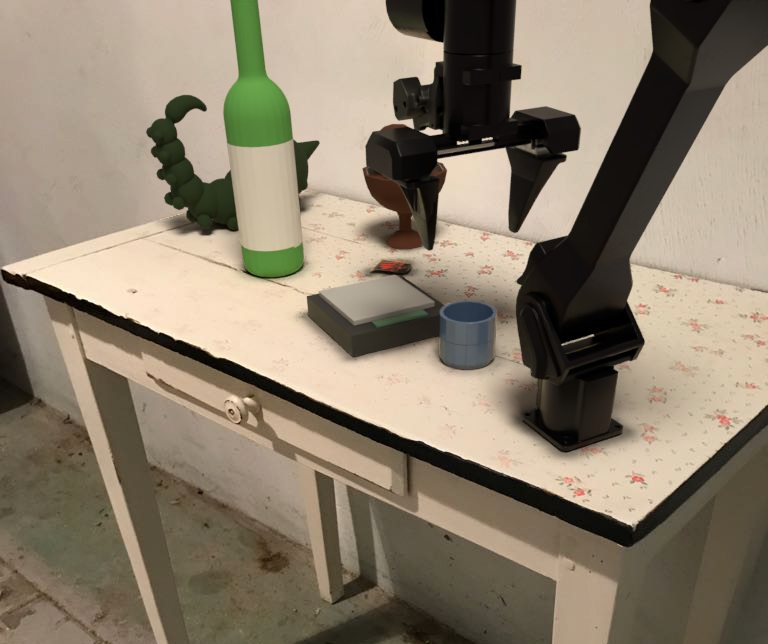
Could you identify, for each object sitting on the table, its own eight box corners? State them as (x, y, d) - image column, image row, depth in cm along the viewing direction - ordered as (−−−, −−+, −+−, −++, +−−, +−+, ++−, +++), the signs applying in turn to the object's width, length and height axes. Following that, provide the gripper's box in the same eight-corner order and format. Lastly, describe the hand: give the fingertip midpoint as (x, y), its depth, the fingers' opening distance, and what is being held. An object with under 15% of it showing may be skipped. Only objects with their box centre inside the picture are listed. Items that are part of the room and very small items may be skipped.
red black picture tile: (410, 274, 102) (410, 270, 101) (369, 274, 102) (369, 270, 102) (412, 261, 105) (412, 257, 105) (372, 261, 106) (372, 257, 106)
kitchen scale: (453, 332, 88) (454, 305, 87) (352, 357, 84) (351, 330, 82) (401, 294, 97) (401, 270, 95) (308, 316, 93) (305, 290, 91)
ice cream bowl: (440, 257, 107) (441, 133, 98) (356, 253, 109) (350, 131, 100) (451, 230, 115) (453, 113, 106) (373, 227, 117) (369, 113, 108)
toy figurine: (194, 257, 114) (344, 205, 124) (156, 111, 102) (325, 66, 112) (167, 240, 120) (311, 191, 130) (128, 100, 108) (290, 58, 118)
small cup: (505, 362, 82) (508, 315, 79) (457, 375, 80) (458, 328, 77) (475, 341, 86) (477, 296, 83) (429, 353, 84) (429, 307, 81)
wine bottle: (233, 267, 106) (193, -6, 88) (284, 253, 110) (256, -12, 91) (264, 284, 101) (228, -2, 83) (316, 269, 104) (293, -9, 86)
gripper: (519, 29, 76) (508, 201, 85) (334, 48, 70) (345, 232, 79) (594, 43, 68) (573, 232, 77) (393, 67, 62) (397, 269, 71)
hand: (471, 240), depth 76 cm, fingers open, 9 cm apart
